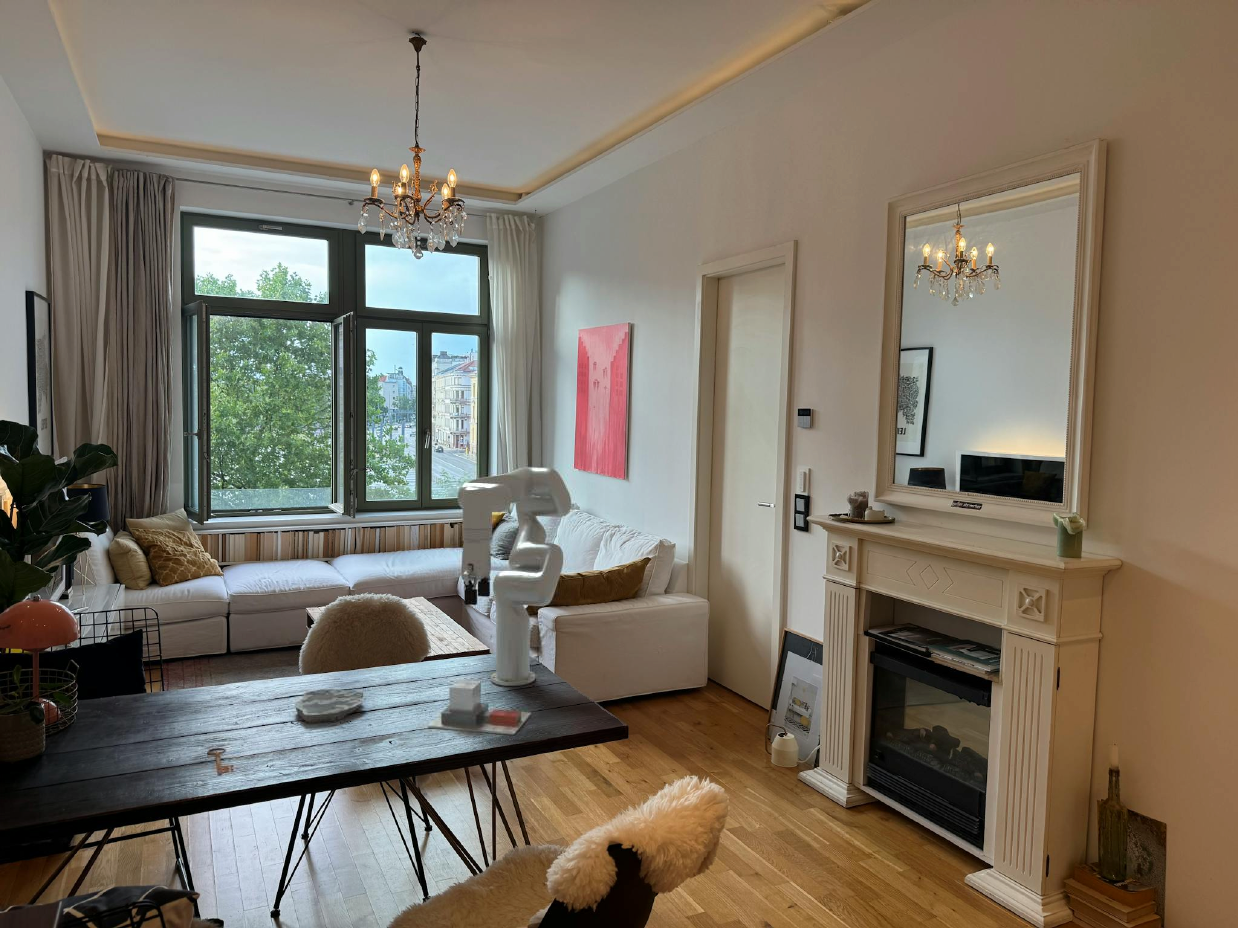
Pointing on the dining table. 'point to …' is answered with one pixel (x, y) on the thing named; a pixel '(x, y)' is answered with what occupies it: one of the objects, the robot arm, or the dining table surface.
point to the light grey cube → (465, 696)
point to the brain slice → (328, 704)
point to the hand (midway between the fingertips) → (477, 600)
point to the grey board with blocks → (481, 720)
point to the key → (219, 767)
